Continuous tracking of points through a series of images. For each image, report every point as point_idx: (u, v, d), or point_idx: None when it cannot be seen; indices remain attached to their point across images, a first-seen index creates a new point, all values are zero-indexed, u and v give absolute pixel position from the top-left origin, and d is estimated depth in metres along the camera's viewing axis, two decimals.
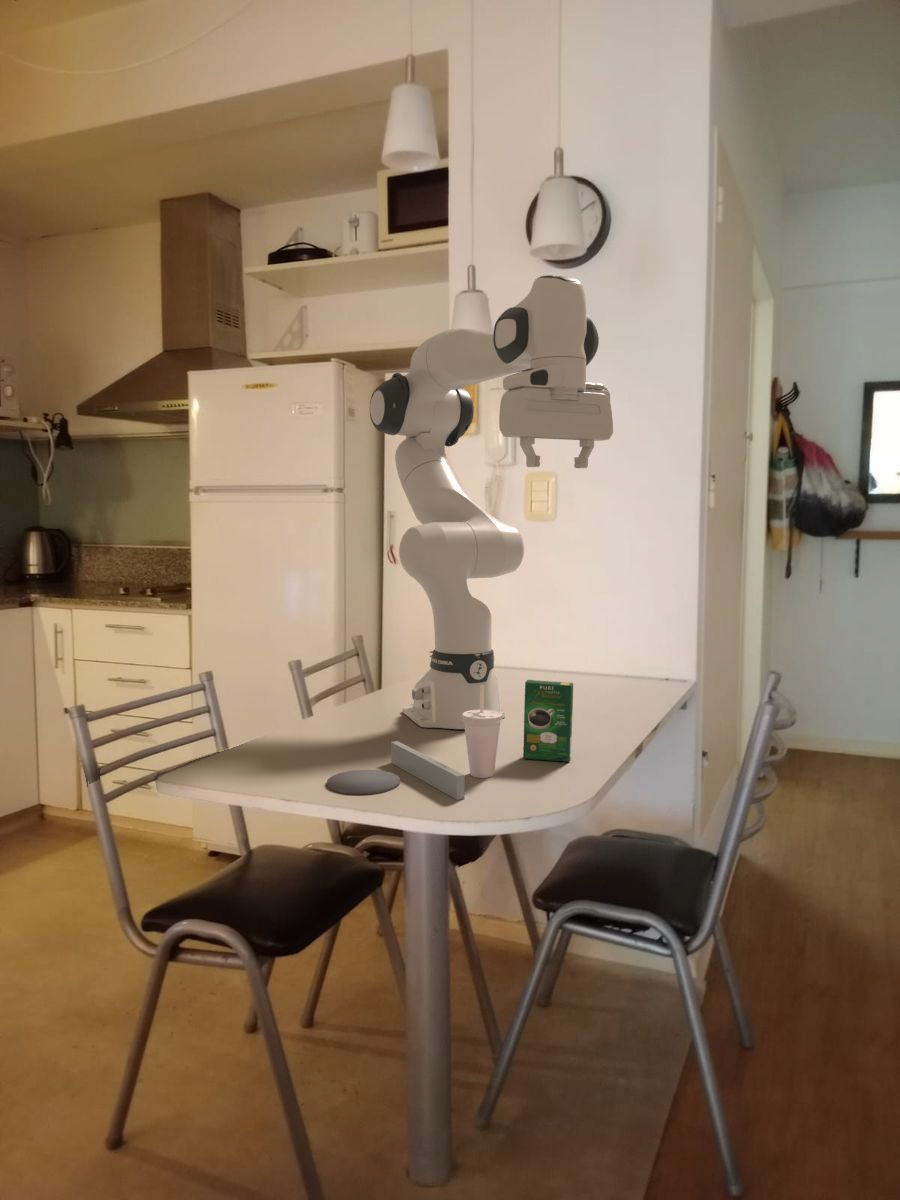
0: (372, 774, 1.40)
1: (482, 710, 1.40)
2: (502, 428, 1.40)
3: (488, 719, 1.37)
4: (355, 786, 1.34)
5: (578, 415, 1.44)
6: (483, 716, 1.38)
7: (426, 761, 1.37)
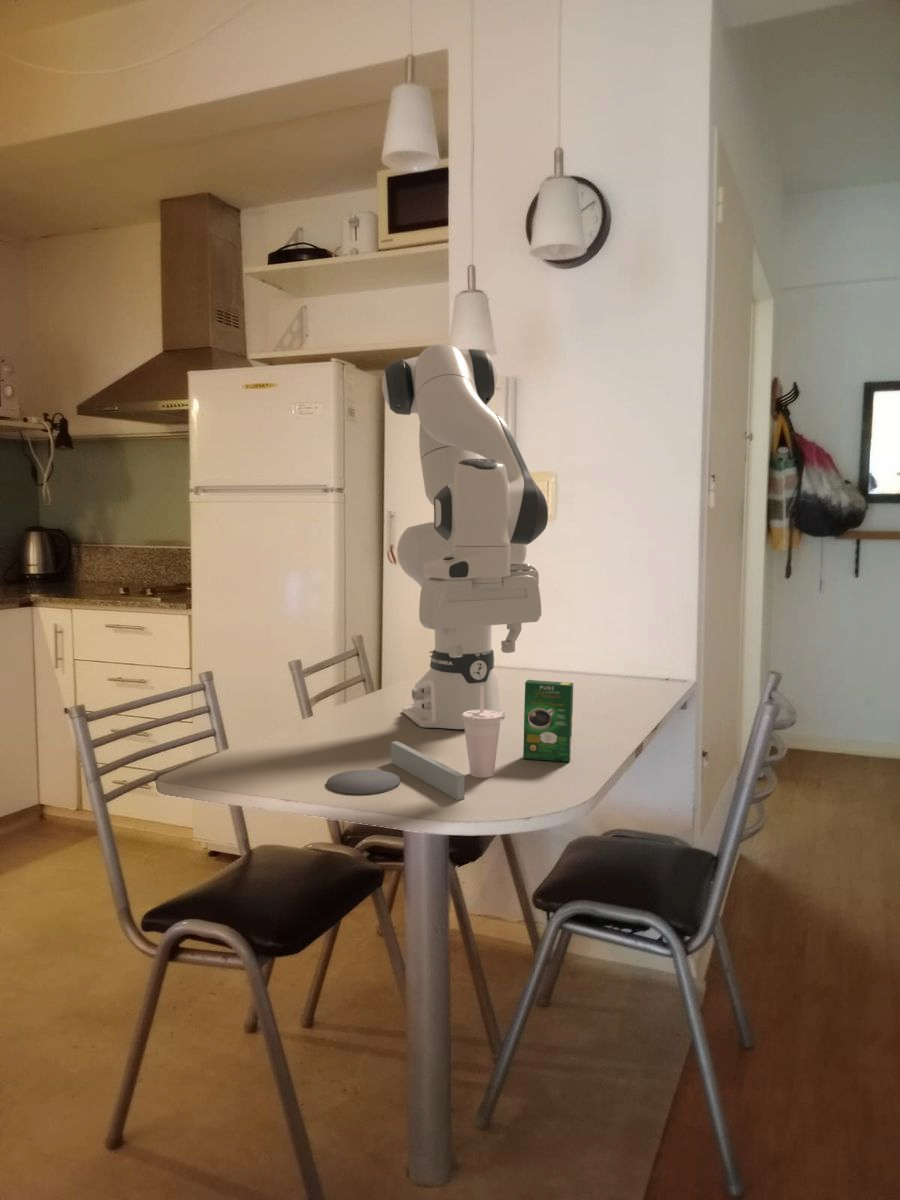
0: (372, 774, 1.40)
1: (482, 710, 1.40)
2: (421, 620, 1.34)
3: (488, 719, 1.37)
4: (355, 786, 1.34)
5: (503, 601, 1.38)
6: (483, 716, 1.38)
7: (426, 761, 1.37)
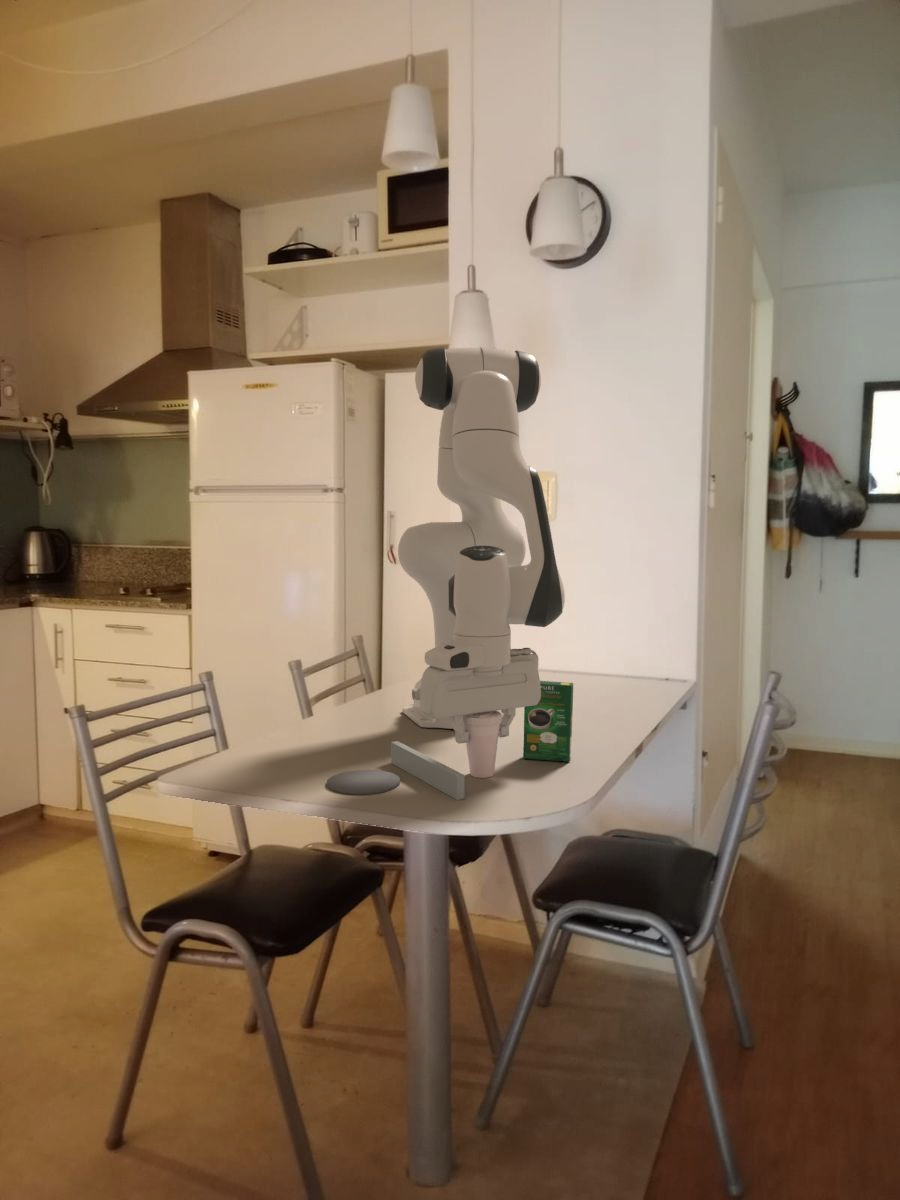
0: (372, 774, 1.40)
1: None
2: (422, 708, 1.36)
3: (487, 719, 1.37)
4: (355, 786, 1.34)
5: (503, 687, 1.39)
6: (482, 716, 1.38)
7: (426, 761, 1.37)
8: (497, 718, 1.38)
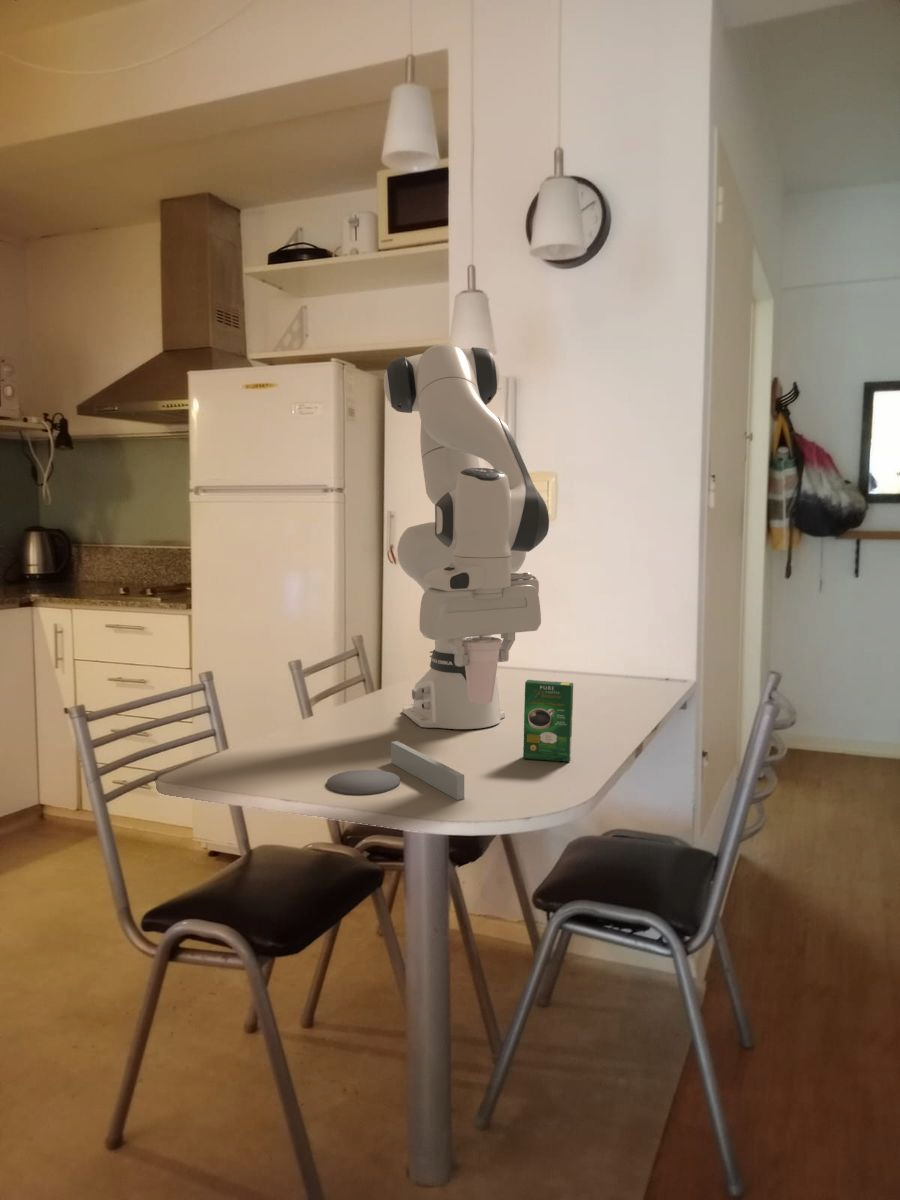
0: (372, 774, 1.40)
1: (481, 636, 1.39)
2: (421, 630, 1.35)
3: (487, 644, 1.36)
4: (355, 786, 1.34)
5: (503, 611, 1.38)
6: (482, 641, 1.37)
7: (426, 761, 1.37)
8: (497, 644, 1.37)
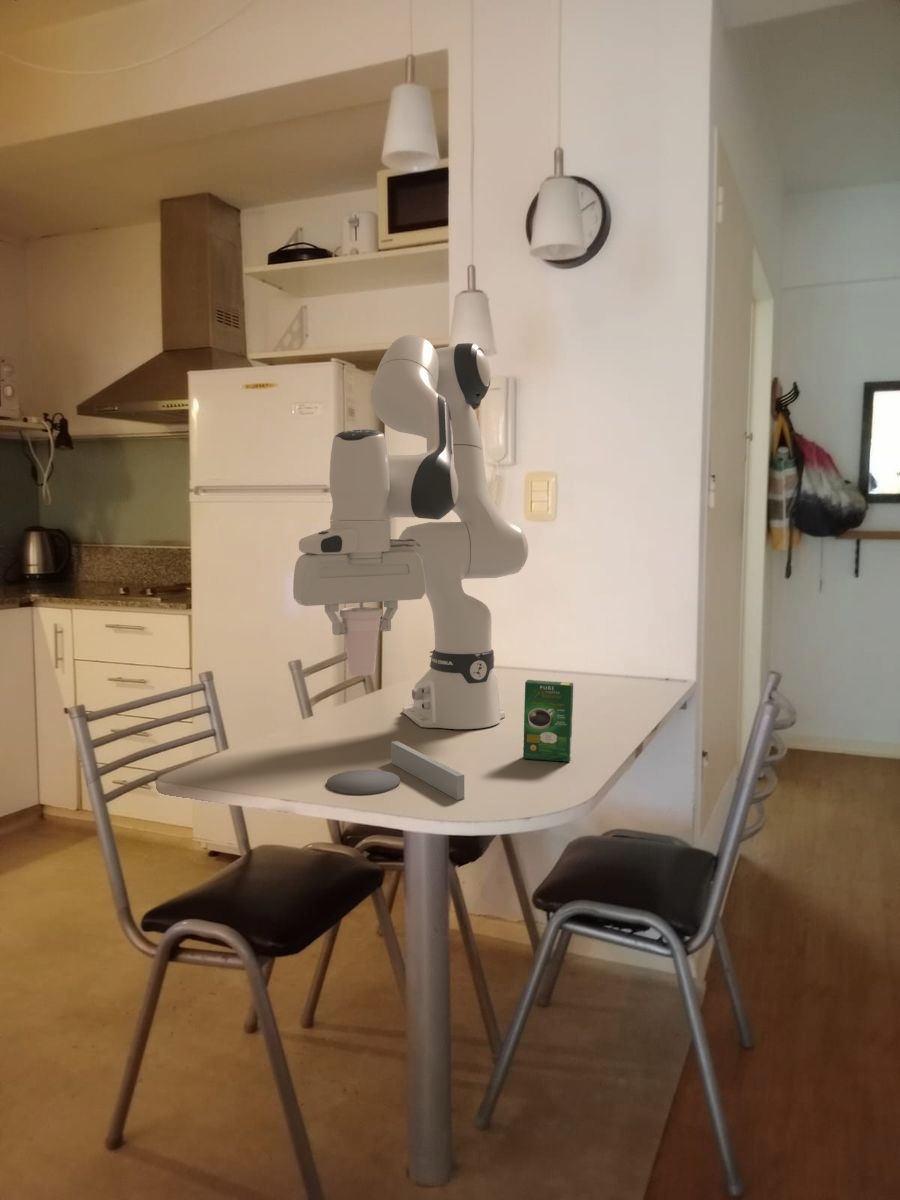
0: (372, 774, 1.40)
1: (361, 606, 1.34)
2: (295, 596, 1.30)
3: (365, 613, 1.31)
4: (355, 786, 1.34)
5: (382, 577, 1.33)
6: (360, 610, 1.32)
7: (426, 761, 1.37)
8: (376, 613, 1.32)
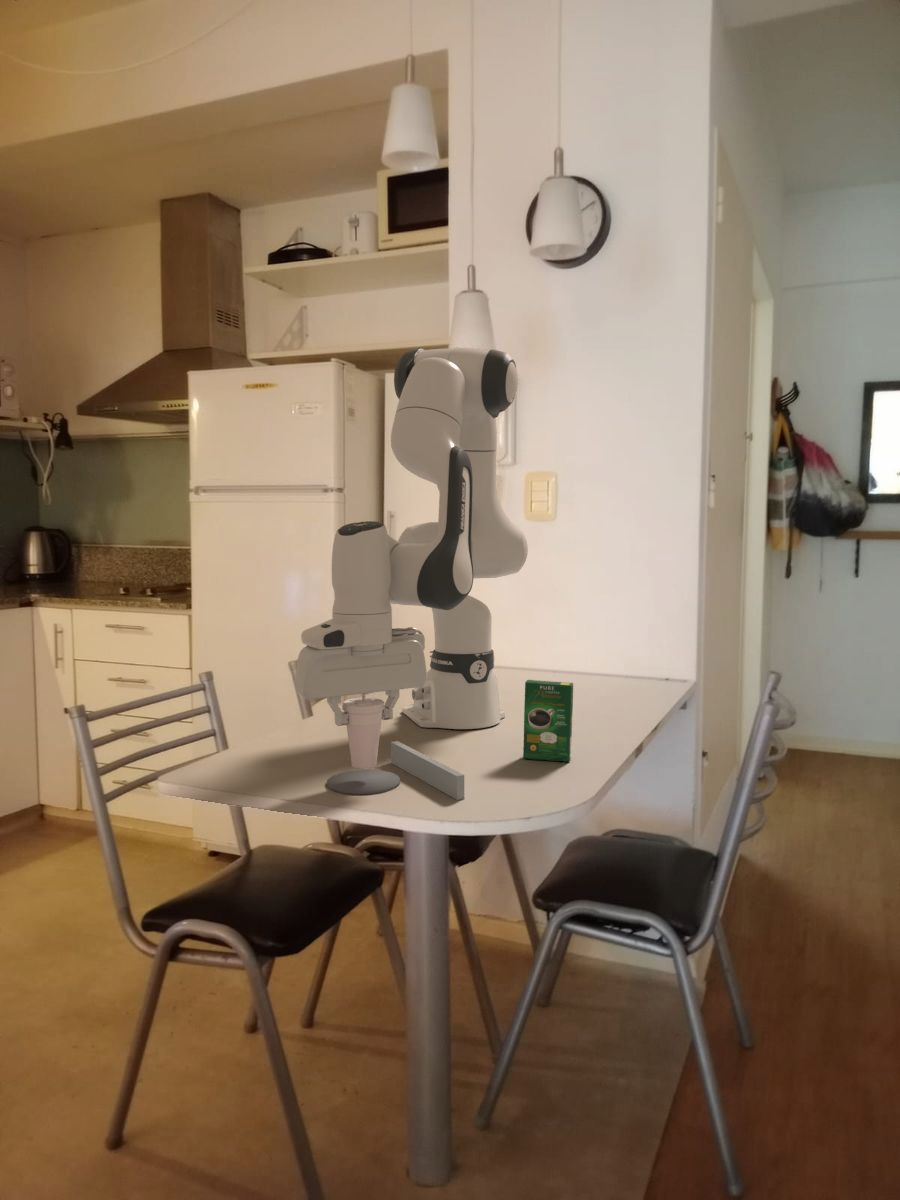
0: (372, 774, 1.40)
1: (364, 698, 1.35)
2: (297, 689, 1.31)
3: (367, 707, 1.32)
4: (355, 786, 1.34)
5: (384, 668, 1.35)
6: (362, 704, 1.33)
7: (426, 761, 1.37)
8: (378, 707, 1.33)
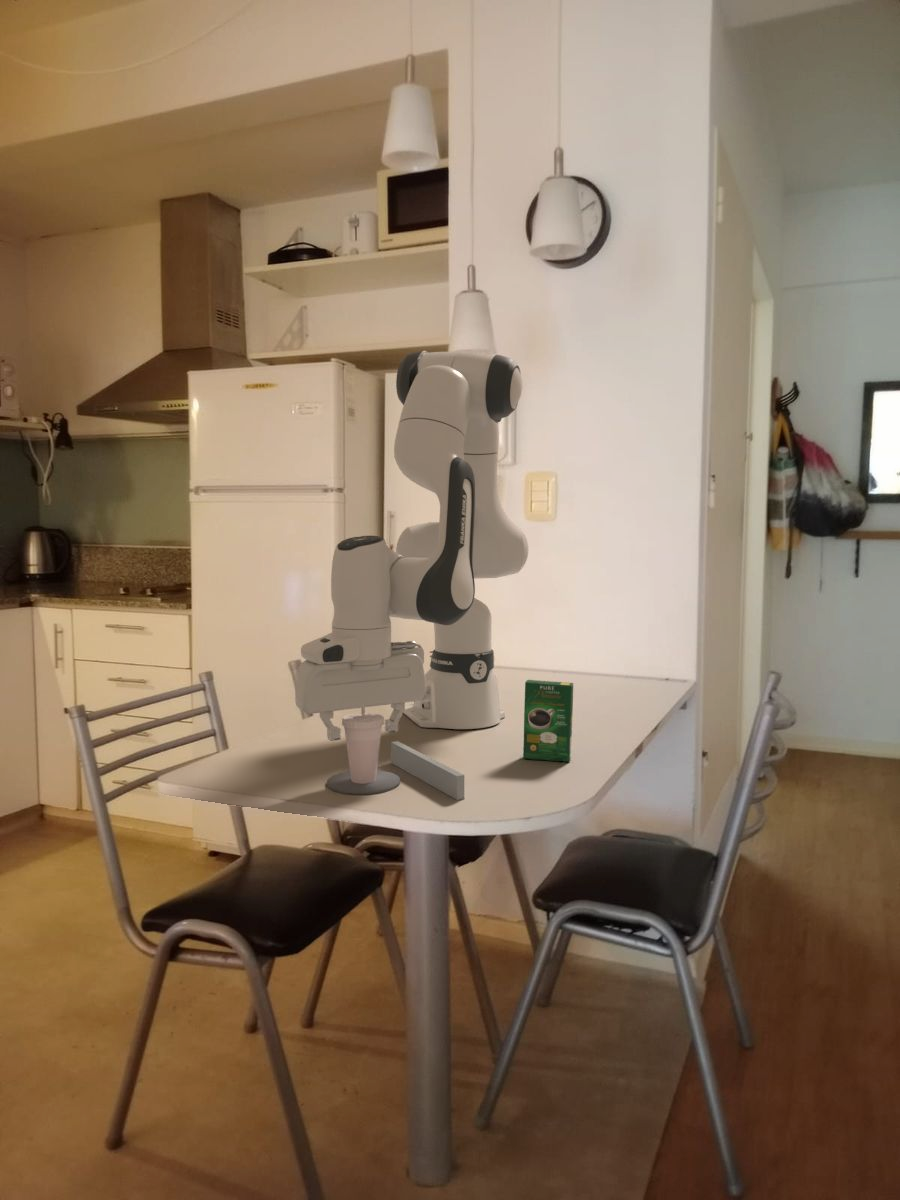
0: None
1: (363, 714, 1.36)
2: (297, 703, 1.31)
3: (366, 723, 1.33)
4: (355, 786, 1.34)
5: (383, 682, 1.35)
6: (362, 720, 1.34)
7: (426, 761, 1.37)
8: (377, 722, 1.34)
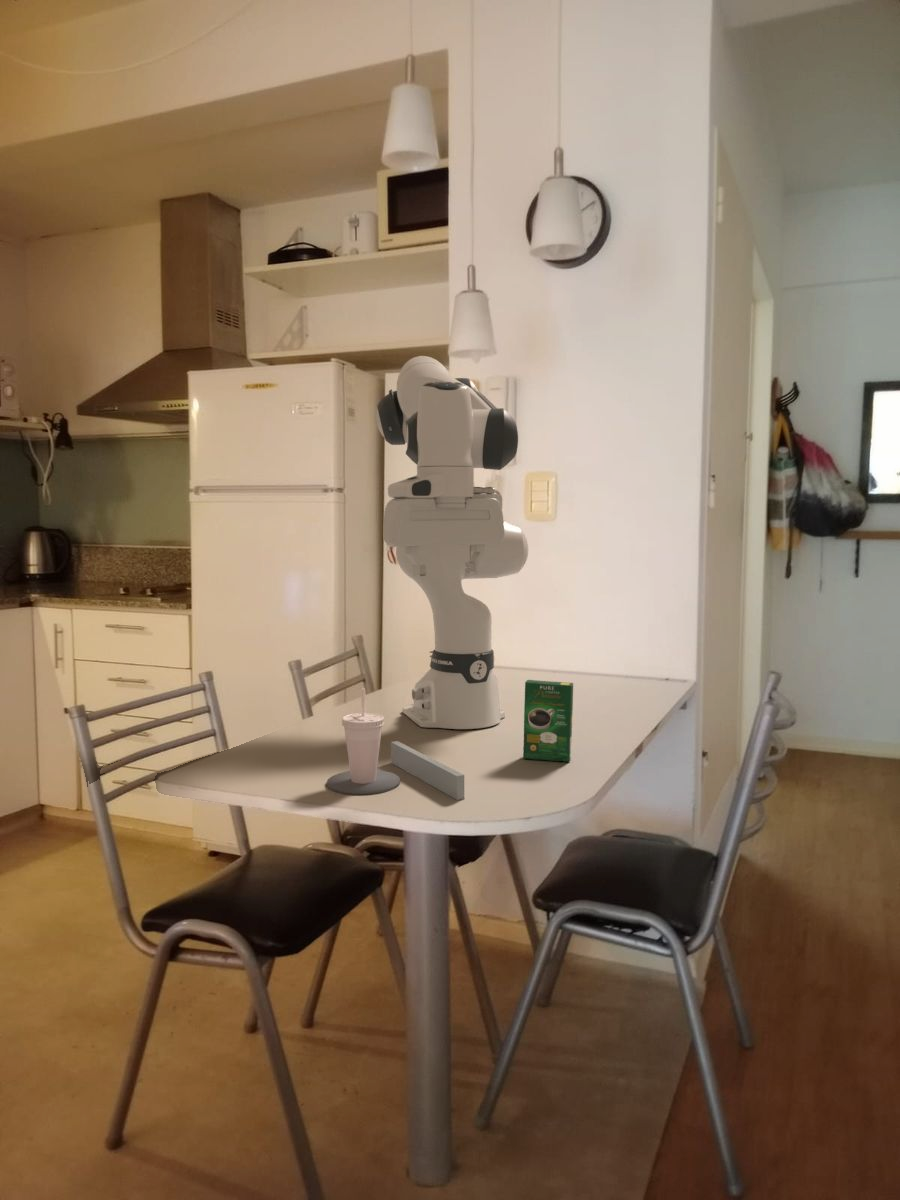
0: None
1: (363, 714, 1.36)
2: (385, 538, 1.37)
3: (366, 723, 1.33)
4: (355, 786, 1.34)
5: (466, 522, 1.41)
6: (362, 720, 1.34)
7: (426, 761, 1.37)
8: (377, 722, 1.34)
